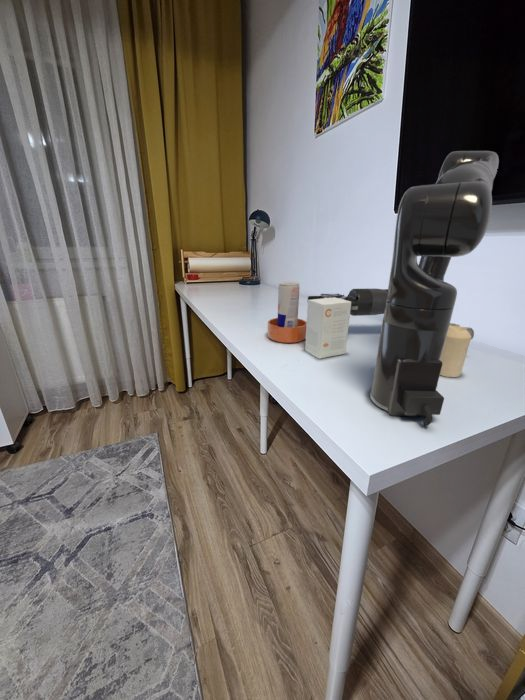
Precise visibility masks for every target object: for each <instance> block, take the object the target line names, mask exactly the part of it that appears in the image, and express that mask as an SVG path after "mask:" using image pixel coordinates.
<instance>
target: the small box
mask: <svg viewBox="0 0 525 700" xmlns="http://www.w3.org/2000/svg"><path fill="white" fill-rule="evenodd" d="M306 310H307V311H306V312H307V313H306V322H307V327H306V339H305V348H304V350H305V352H307V353H308V354H310V355H312V356H314V357H316V358H317V359H320V360H321V359H325V358H330V357H335V356H340V355H346V354H347V345H348V335H349V326H350V318H351V315H350V310H351V302H350V301H347V300H344V299H340V298H335V297H333V298H322V299H312V300H308V299H307V309H306Z"/></svg>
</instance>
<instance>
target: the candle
mask: <svg viewBox="0 0 525 700" xmlns="http://www.w3.org/2000/svg"><path fill="white" fill-rule="evenodd" d="M471 341H472V339H471V335H470V334H469V332H468V331H467V330H466V328H465V326H461V325H460V326H452V325H449V328H448V332H447V336H446V340H445V344H444V348H443V352H442V356H441V360H440V361H442V368H441V372H440V376H443V377H447V378H458V377H460V376H461V374H462V372H463V367H464V365H465V361H466V357H467V354H468V350H469V347H470V343H471Z"/></svg>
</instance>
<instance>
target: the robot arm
mask: <svg viewBox="0 0 525 700" xmlns="http://www.w3.org/2000/svg"><path fill="white" fill-rule="evenodd" d="M499 163H500V159H499V155H498V154H497V152H495V151H491V150H454V151H451V152H450V153H448V155H447V156H446V157H445V159H444V161H443V163H442V166H441V167H440V170H439V173H438V178H437V180H436V182H435V183H429V184H419V185H414V186H411V187H409V188H408V189H406V191H405V192H404V193H403V196H402V197H401V200H400V202H399V205H398V210H397V215H396V220H395V229H394V239H393V249H392V259H391V264H390V265H391V266H390V272H389V278H388V286H387V288H386V289H385V288H351V290H349V292H348V295H345V294H344V293H343V294H342V293H320V295H308V296H307V301H308V300H312V299H322V298H333V297H335V298H340V299H344V300H347V301H350V302H351V310H350V316H353V317H357V316H358V317H361V316H362V317H363V316H378V315H383V318H382V323H381V330H380V336H379V341H378V342H379V343H378V347H377V352H376V359H375V366H374V371H373V379H372V383H371V389H370V393H369V397H370V401H371V402H372V403H373V404H374V405H375V406H377V407H378V408H380V409H382V410H384V411H386V412H387V413H388V415H390V416H396V417H397V416H399V417H401V416H402V417H425V419H424V420H423V422H422V423H423V425H424V426H425V427H429V425H431V424H432V422H433V415H435V416H440V415H441V413H442V409H443V405H444V401H445V397H444V396H443V395H442V394H441V393H440V392H439V391H438V390H437V389H438V384H439V379H440V376H441V375H440V372H441V368H442V361H440V360H441V356H442V352H443V348H444V344H445V340H446V336H447V332H448V328H449V325H450V323H451V320H452V316H453V312H454V308H455V305H456V301H457V298H458V297H457V296H458V289H457V287H456V286H454V285H453V284H452V283H449V282H446V281H445V276H446V273H447V270H448V268H449V265H450V262H451V260H452V258H458V257H465V256H466V255H469V254H471V253H472V252H473V251H474V250H475V249H477V248H478V246H480V243H481V242H482V241H483V239H484V237H485V234H486V232H487V230H488V228H489V225H490V221H491V218H492V217H491V216H492V210H493V196H492V195H493V194H492V191H493V186H494V180H495V178H496V175H497V173H498V170H497V169H499ZM418 257H420V259H419V261H418Z"/></svg>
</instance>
